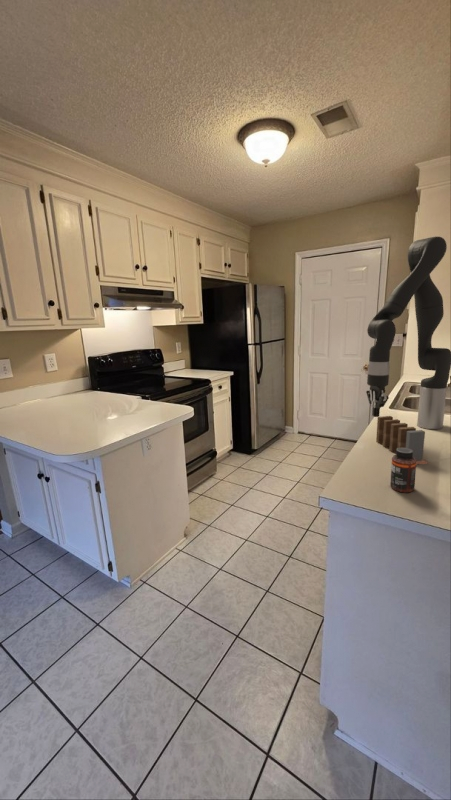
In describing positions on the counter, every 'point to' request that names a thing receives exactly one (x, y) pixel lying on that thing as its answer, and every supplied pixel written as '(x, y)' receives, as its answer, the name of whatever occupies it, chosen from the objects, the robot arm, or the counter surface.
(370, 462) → the counter surface
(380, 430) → the domino
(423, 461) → the end pad
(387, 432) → the domino
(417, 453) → the domino
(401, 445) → the domino
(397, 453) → the supplement bottle
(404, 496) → the counter surface
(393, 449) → the domino
